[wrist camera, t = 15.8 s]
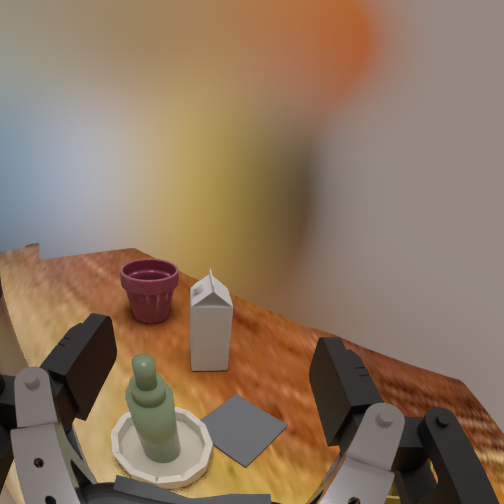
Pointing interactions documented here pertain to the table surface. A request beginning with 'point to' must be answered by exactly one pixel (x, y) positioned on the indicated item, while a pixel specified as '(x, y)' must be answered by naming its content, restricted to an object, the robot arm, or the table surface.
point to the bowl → (164, 474)
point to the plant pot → (149, 288)
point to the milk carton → (210, 325)
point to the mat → (242, 429)
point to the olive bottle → (153, 411)
